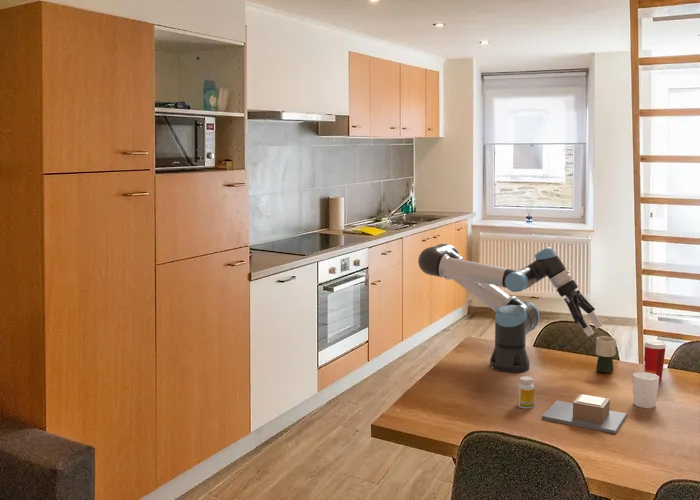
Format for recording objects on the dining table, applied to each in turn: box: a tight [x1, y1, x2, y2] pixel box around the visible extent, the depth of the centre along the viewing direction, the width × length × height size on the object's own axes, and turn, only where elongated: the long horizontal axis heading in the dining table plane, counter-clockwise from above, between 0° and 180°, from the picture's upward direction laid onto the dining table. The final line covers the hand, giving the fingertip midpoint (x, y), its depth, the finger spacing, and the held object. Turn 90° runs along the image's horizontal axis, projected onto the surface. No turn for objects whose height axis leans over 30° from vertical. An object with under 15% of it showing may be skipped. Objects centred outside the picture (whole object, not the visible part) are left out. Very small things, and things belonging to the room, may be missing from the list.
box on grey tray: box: [541, 393, 627, 434], centre depth 214 cm, size 22×16×6 cm
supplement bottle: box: [516, 375, 535, 410], centre depth 224 cm, size 5×5×10 cm
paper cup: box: [643, 339, 667, 382], centre depth 249 cm, size 8×8×14 cm
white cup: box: [632, 371, 660, 409], centre depth 224 cm, size 8×8×10 cm
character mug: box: [595, 335, 617, 374], centre depth 258 cm, size 11×7×13 cm, turn 6°
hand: (595, 331), depth 260 cm, fingers open, 13 cm apart
